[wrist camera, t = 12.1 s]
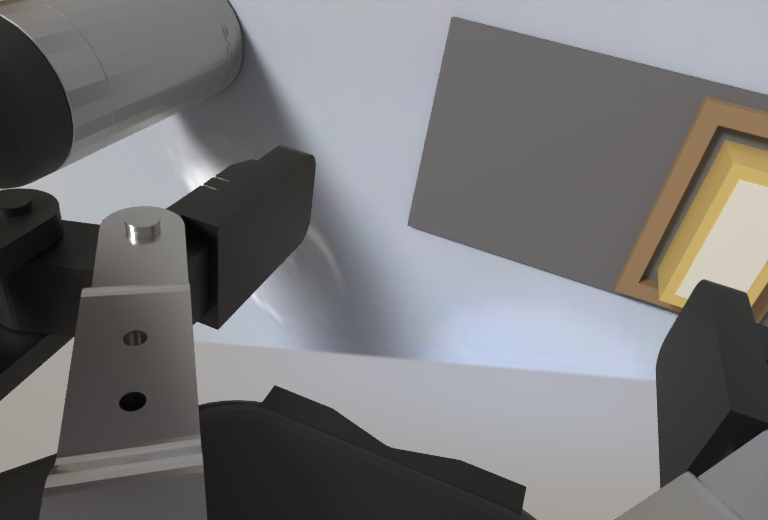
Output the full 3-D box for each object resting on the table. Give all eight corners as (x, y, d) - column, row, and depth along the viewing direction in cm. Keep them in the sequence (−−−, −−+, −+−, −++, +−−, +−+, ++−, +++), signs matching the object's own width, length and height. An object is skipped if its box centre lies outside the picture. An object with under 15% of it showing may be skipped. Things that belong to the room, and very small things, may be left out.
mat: (409, 222, 48) (403, 230, 47) (453, 16, 39) (447, 20, 38) (775, 342, 43) (779, 355, 41) (925, 134, 34) (936, 143, 32)
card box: (725, 139, 37) (733, 163, 33) (811, 163, 36) (829, 190, 32) (657, 269, 42) (659, 300, 39) (730, 292, 41) (738, 326, 38)
